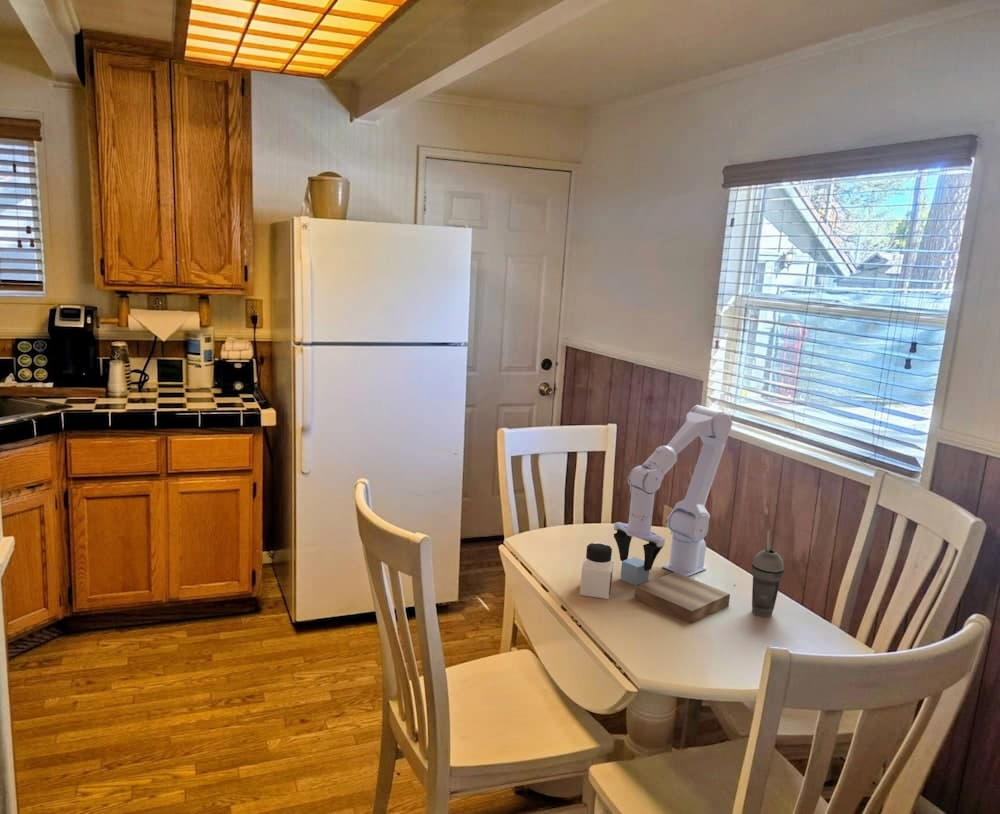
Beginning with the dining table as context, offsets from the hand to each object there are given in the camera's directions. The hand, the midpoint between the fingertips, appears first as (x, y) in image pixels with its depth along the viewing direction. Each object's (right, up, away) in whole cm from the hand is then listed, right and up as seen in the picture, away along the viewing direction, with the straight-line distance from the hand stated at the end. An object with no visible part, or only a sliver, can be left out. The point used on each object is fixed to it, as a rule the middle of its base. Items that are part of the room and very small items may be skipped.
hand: (635, 564), depth 194 cm
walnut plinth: (+9, -7, -11) cm, 16 cm away
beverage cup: (+27, -9, -14) cm, 32 cm away
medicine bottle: (-11, -5, -8) cm, 15 cm away
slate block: (0, -4, +1) cm, 4 cm away
